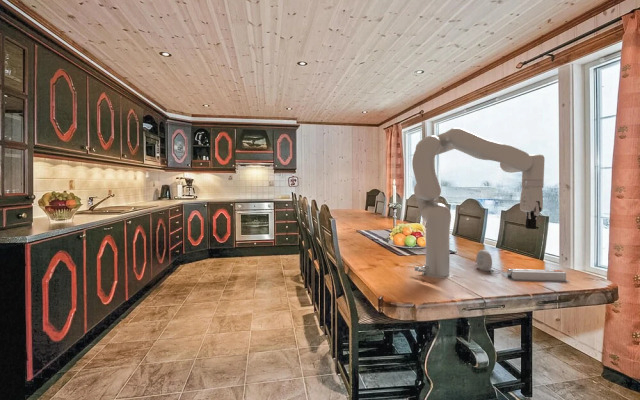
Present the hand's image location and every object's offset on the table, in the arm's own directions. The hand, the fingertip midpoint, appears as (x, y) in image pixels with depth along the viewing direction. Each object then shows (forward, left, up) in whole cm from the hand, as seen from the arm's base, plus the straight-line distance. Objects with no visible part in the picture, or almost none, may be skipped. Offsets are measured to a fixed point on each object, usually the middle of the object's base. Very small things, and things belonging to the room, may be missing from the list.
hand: (530, 228), depth 132 cm
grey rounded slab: (-16, +7, -21) cm, 27 cm away
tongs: (-1, -4, -21) cm, 21 cm away
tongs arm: (-1, -5, -19) cm, 20 cm away
